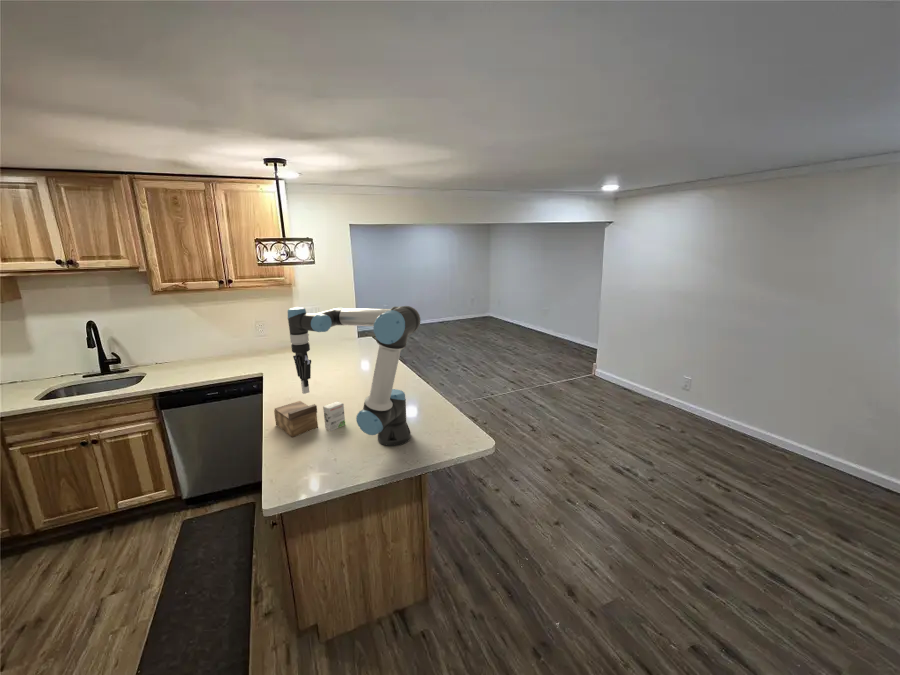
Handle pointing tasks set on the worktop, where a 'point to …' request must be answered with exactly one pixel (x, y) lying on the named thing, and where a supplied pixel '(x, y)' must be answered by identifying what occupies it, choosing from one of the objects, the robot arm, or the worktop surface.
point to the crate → (296, 424)
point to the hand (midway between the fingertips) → (305, 392)
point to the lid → (296, 410)
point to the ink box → (334, 415)
